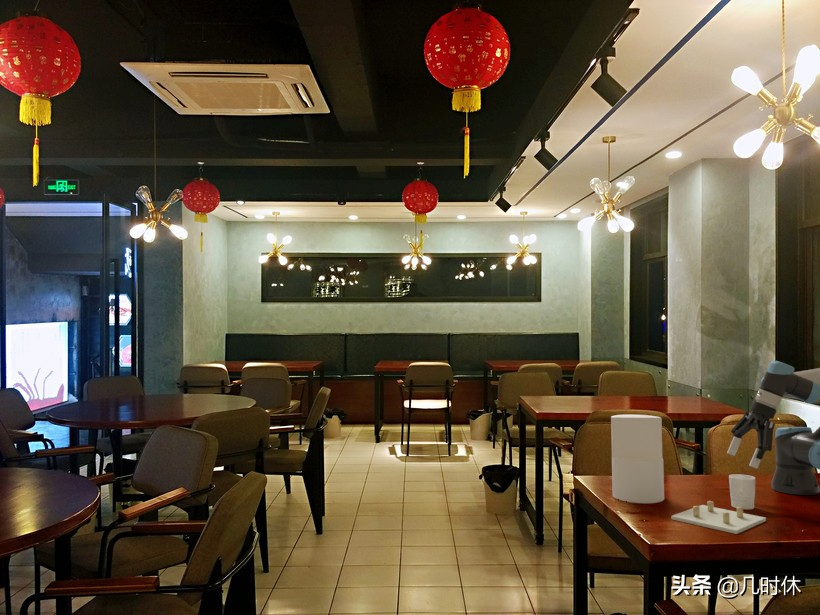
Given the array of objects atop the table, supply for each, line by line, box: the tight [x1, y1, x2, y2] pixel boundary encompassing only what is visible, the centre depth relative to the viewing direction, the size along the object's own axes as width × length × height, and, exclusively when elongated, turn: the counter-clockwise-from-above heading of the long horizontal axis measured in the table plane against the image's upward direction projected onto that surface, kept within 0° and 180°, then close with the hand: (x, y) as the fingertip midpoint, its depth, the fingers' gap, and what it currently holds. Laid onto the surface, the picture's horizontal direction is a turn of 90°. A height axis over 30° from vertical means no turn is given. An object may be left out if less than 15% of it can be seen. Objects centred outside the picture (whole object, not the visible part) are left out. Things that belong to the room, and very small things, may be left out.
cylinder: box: [610, 414, 665, 504], centre depth 233 cm, size 17×17×28 cm
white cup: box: [728, 473, 756, 510], centre depth 219 cm, size 8×8×10 cm
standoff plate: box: [670, 500, 767, 535], centre depth 204 cm, size 20×20×4 cm
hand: (741, 460), depth 228 cm, fingers open, 13 cm apart
